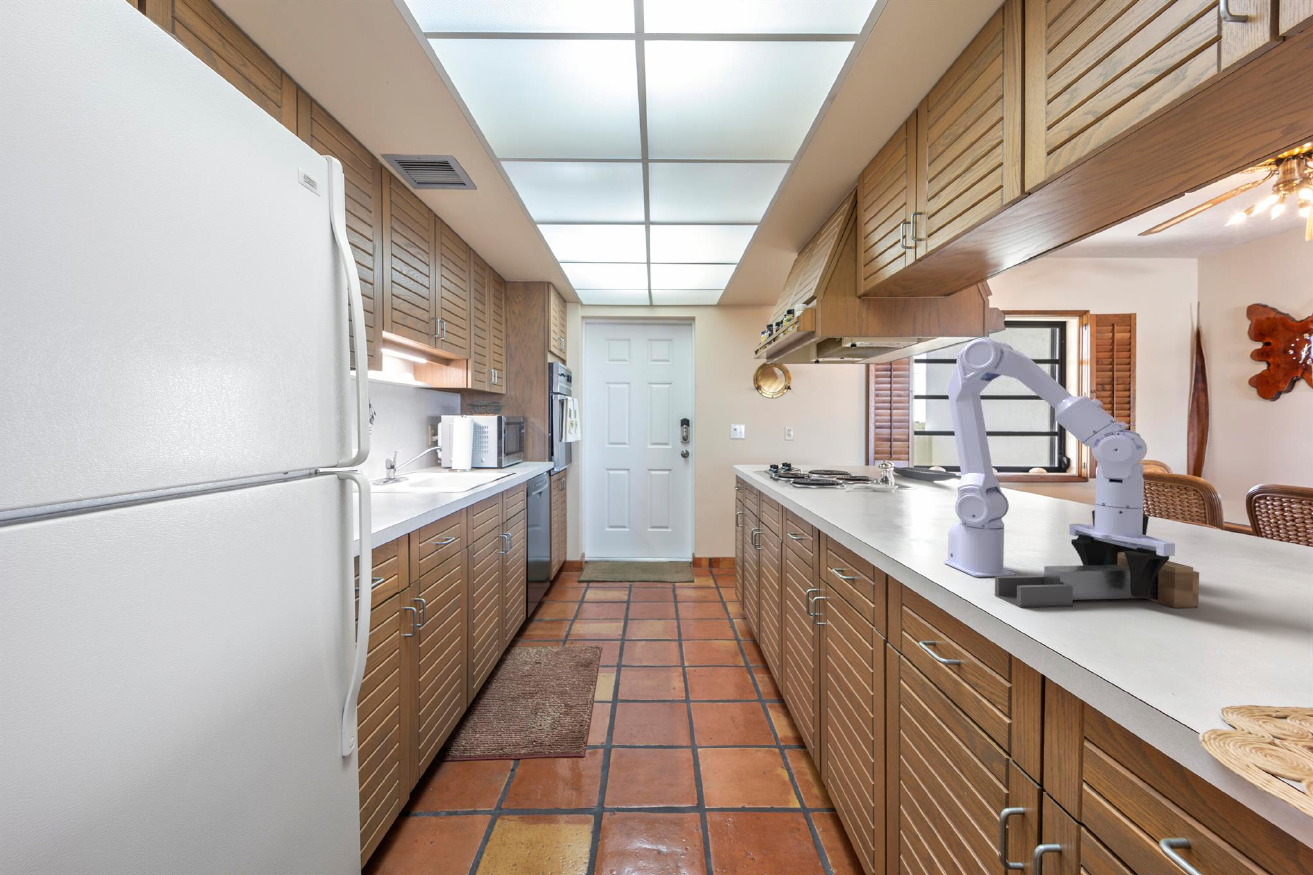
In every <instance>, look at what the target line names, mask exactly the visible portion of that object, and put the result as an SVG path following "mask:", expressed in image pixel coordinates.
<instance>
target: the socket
mask: <svg viewBox="0 0 1313 875" xmlns="http://www.w3.org/2000/svg"><path fill="white" fill-rule="evenodd" d="M1117 565H1128V562H1127V559H1126V556H1125V552H1120V553H1118V564H1117ZM1199 587H1200V572H1199V571H1195V570H1194V567H1193V566H1190V565H1185V564H1181V563H1178V562H1174V561H1170V560H1168V561H1167V562H1166V563H1165V564H1164V565H1163V566H1162V568H1161V569H1160V570H1159V574H1158V597H1156V598H1144V599H1146V600H1148V601H1152V602H1155V603H1158V604H1159V605H1163V606H1167V607H1170V608H1172V609H1187V608H1188V609H1189V608H1191V609H1192V608H1194V609H1195V608H1199V590H1200V588H1199Z"/></svg>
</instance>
